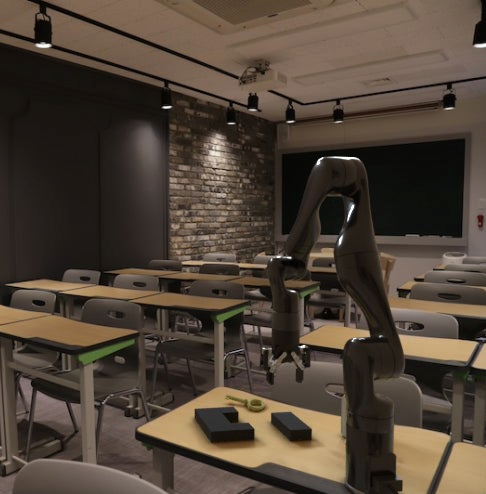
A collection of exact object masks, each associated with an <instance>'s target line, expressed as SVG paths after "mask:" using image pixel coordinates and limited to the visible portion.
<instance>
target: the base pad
mask: <svg viewBox="0 0 486 494" xmlns="http://www.w3.org/2000/svg"><path fill="white" fill-rule="evenodd" d="M239 414H240V412H239V410H237V408H235V407H234V406H218V407H217V406H216V407H202V408H201V407H200V408H194V420H195V421H196V422H197V424H198V426H199V428H200V429H201V430H202V432H203V433H204V435H205V436H206V437H207V439H208V440H209V442H210V443H213V444H214V443H225V442H226V443H227V442H241V441H243V442H244V441H255V440H256V439H255V435H256V434H255V433H256V431H255V428H254V426H252V424H251V423H250V422H239V421H240V419H239V418H240V416H239Z"/></svg>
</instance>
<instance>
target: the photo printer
mask: <svg viewBox="0 0 486 494" xmlns="http://www.w3.org/2000/svg"><path fill="white" fill-rule="evenodd" d="M340 403H341V404H340V434H341V435H342V436H343V437H344V438H346V398H345V394H344V395H343V396H342V397H341V402H340Z"/></svg>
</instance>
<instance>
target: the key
mask: <svg viewBox="0 0 486 494" xmlns="http://www.w3.org/2000/svg"><path fill="white" fill-rule="evenodd" d="M224 400H227V401H228V400H231V401H234V402H237V403H241V404H244V406H247V409H248V410H250V411H253V412H259V411H262V410H263V409H264V408H265V406H266V404H265V402H264V401H263V400H262V399H259V398H252V399H250V400H248V399H247V398H245V399H244V398H241V397H237V396H233V395H230V394H226V395H225V397H224ZM253 404H259V405H260V406H254V405H253Z"/></svg>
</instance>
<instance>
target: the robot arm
mask: <svg viewBox="0 0 486 494" xmlns="http://www.w3.org/2000/svg"><path fill="white" fill-rule="evenodd" d="M369 191H370V190H369V179H368V173H367V170H366V167H365V165H364V162H363V161H362V160H360V159H359V158H357V157H350V156H349V157H348V156H324V157H321V158H319V159H318V160H316V162H315V164H314V165H313V167H312V169H311V171H310V174H309V176H308V179H307V183H306V187H305V190H304V193H303V197H302V199H301V204H300V207H299V210H298V213H297V217H296V219H295V222H294V224H293V226H292V228H291V230H290V231H289V234H288V236H287V238H286V240H285V242H284V245H283V251H284V253H285V255H286V256H285V255H284V256H272V257H271V258H270V259H269V260H268V262H267V264H266V275H267V278H268V282H269V286H270V291H271V294H272V312H271V313H272V314H271V323H270V324H271V338H270V339H271V347H267V348H266V347H264V346H262V347H260V356H259V368H261V369H262V370H264V371H265V372H266V373H265V377H266V378H265V380H266V382H267V383H268V384H269V385H270V386H275V372H274V371H275V369H276V368H278V367H279V366H280V364H286V363H288V364H294V366H295V367H296V368H295V382H296V383H298V384H302V383H303V381H304V375H305V374H304V371H305V369H309V368H311V348H310V347H309V346H307V345H305V344H302V345H301V346H300V340H301V339H300V337H301V317H300V294H299V292H298V291H297V290H294V289H290V288H287V286H286V284H285V282H298V281H300V280H302V279H303V278H305V276H306V275H307V272H308V268H309V261H310V256H311V253H312V251H313V250H314V248H315V246H316V244H317V242H318V241H319V238H320V236H321V233H322V232H321V231H322V226H321V220H320V219H321V218H320V207H321V205H322V203H323V202H324V201H325V199H326V198H327V197H341V198H342V202H343V206H344V221H343V224H342V227H341V229H340V232H339V234H338V235H337V238H336V240H335V243H334V247H333V260H334V267H335V272H336V277H337V280H338V282H339V284H340V286H341V287H342V289H343V290H344V291H345V293H346V294H347V295H348V296H349V298H350V299H351V300H352V301H353V302H354V304H355V305H356V306H357V307H358V309H359V310H360V311H361V313H362V315H363V317H364V320H365V322H366V326H367V329H368V333H369V336H363V337H362V336H360V337H359V336H358V337H352V338H349V339H348V340H347V341H346V342H345V344H344V346H343V349H342V383H343V384H342V385H343V393H344V395H345V398H346V437H345V460H344V461H345V465H344V468H345V469H344V470H345V471H344V472H345V473H344V486H345V488H346V489H347V490H348V491H350V492H351V493H353V494H400V493H401V492H403V489H404V479H402V478H401V477H400V476H398V474H397V454H396V453H395V451H394V449H395V408H396V406H395V402H394V401H393V400H392V398H390V397H388V396H386V395H385V394H382V393H379V392H376V391H375V382H380V381H381V382H382V381H393V380H397V379H400V378H401V377H402V375H403V374H404V373H405V368H406V358H405V352H404V348H403V344H402V340H401V338H400V335H399V332H398V329H397V326H396V322H395V320H394V316H393V312H392V309H391V306H390V305H391V304H390V301H389V297H388V293H387V289H386V284H385V279H384V273H383V267H382V263H381V257H380V252H379V248H378V244H377V241H376V237H375V236H376V235H375V230H374V223H373V219H372V212H371V203H370V202H371V201H370V192H369ZM299 354H301V359H300V357H298V356H299ZM271 355H272V356H271ZM270 356H271V357H270Z"/></svg>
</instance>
